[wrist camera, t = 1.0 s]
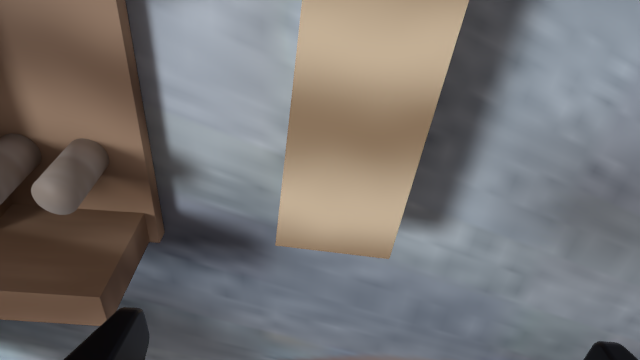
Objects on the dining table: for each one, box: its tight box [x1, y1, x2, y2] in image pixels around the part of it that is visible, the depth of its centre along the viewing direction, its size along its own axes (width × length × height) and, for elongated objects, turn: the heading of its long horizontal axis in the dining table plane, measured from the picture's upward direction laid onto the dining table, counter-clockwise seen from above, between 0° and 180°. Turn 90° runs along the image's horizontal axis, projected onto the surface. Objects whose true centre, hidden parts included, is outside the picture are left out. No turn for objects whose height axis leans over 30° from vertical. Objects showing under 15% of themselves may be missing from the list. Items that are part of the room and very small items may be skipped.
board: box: [275, 0, 469, 259], centre depth 18 cm, size 12×5×4 cm, turn 172°
